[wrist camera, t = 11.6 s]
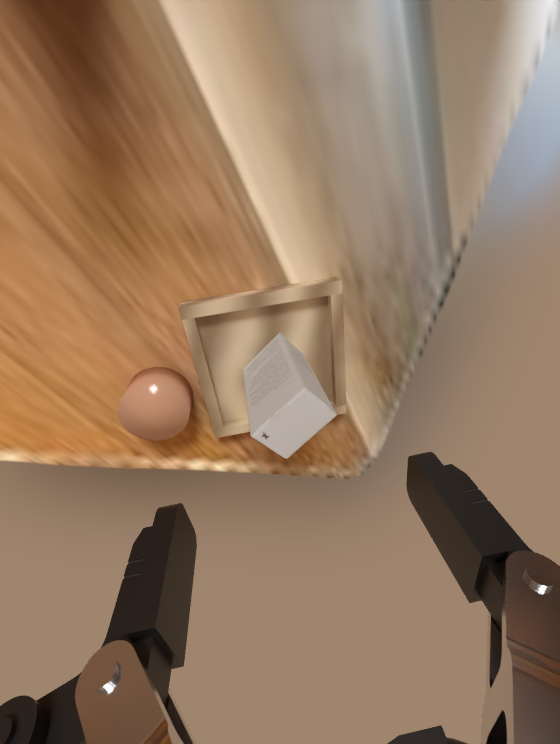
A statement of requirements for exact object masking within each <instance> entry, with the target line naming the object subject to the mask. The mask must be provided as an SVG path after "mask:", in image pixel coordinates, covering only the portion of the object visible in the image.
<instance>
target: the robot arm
mask: <svg viewBox="0 0 560 744" xmlns="http://www.w3.org/2000/svg"><path fill="white" fill-rule="evenodd" d="M407 492H408V495H409V498H410V500H411V503H412V505H413V506H414V508H415V509H416V511H417V513H418V515H419V517H420V518H421V520H422V522H423V524H424V525H425V527H426V529H427V530H428V532H429V534H430V536H431V537H432V538H433V541H434V543H435V544H436V546H437V548H438V549H439V551H440V553H441V554H442V556H443V558H444V560H445V562H446V563H447V565H448V567H449V568H450V570H451V572H452V574H453V575H454V577H455V579H456V580H457V582H458V584H459V585H460V587H461V589H462V591H463V592H464V594H465V596H466V598H467V599H468V601H469V603H472V602H476V601H481V600H482V601H483V603H484V604H485V606H486V608H487V609H488V611H489V614H488V638H487V639H488V640H487V671H486V693H485V701H484V706H483V714H482V727H481V729H482V730H481V744H560V566H559V565H557V564H556V563H555V562H553V561H552V560H550V559H549V558H547V557H545V556H543V555H541V554H538V553H535V552H533V551H532V550H531V549H530V548H528V546H527V545H526V544H525V543H524V542H523V541H522V540H521V538H520V537H519V536H518V535H517V534H516V532H515V531H514V530H513V529H512V528H511V526H510V525H509V524H508V523H507V522H506V520H505V519H504V518H503V517H502V516H501V515H500V513H499V512H498V511H497V510H496V508H495V507H494V506H493V505H492V504H491V503H490V501H488V500H487V498H486V497H485V496H484V494H483V493H482V492H481V491H480V490H478V487H477V486H476V485H475V483H474V482H473V481H472V480H471V479H470V477H469V476H468V475H467V474H466V473H464V472H463V471H461V470H459V469H458V468H457V467H455V466H454V465H452V464H449V465H444V466H443V464H442V463H441V462H440V460H439V459H438V458H437V457H436V455H435V454H434V453H432V452H427V453H422V454H418V455H413V456H409V458H408V471H407ZM196 547H197V543H196V534H195V530H194V528H193V526H192V523H191V521H190V519H189V517H188V515H187V513H186V511H185V508H184V506H183V505H182V504H181V503H179V504H175V505H170V506H165V507H160V508H158V510H157V512H156V515H155V519H154V523H153V526H151V527H146V528H143V530H142V531H141V533H140V535H139V536H138V537H137V539H136V541H135V542H134V544H133V547H132V550H131V553H130V557H129V560H128V565H127V568H126V571H125V574H124V579H123V581H122V584H121V588H120V591H119V594H118V598H117V602H116V605H115V608H114V612H113V615H112V618H111V622H110V626H109V629H108V632H107V636H106V638H105V641H104V643H103V645H102V647H101V649H99V650H98V651H97V652H96V653H95V654H94V655H93V656H92V657H91V659H90V660H89V661H88V663H87V664H86V666H85V667H84V669H83V671H82V672H81V673H80V674H79V675H78V676H76V677H75V678H73V679H72V680H70V681H68V682H67V683H65V684H63V685H62V686H60V687H59V688H57V689H55V690H54V691H52V692H50V693H49V694H47V695H45V696H44V697H42V698H40V699H39V700H37V701H36V700H34V699H33V698H31V697H29V696H18V697H15V698H13V699H11V700H9V701H7V702H6V703H4V704H3V705H1V706H0V744H196V742H195V740H194V738H193V736H192V734H191V732H190V730H189V728H188V726H187V724H186V722H185V720H184V718H183V716H182V714H181V712H180V710H179V708H178V706H177V704H176V702H175V700H174V698H173V696H172V694H171V692H170V690H169V681H170V673H171V669H174V668H178V667H182V666H184V659H185V650H186V641H187V631H188V622H189V613H190V604H191V594H192V585H193V576H194V566H195V557H196ZM388 744H467V743H465V742H462V741H459V740H456V739H452V738H446V736H445V734H444V731H443V728H442V726H437V727H433V728H428V729H424V730H420V731H416V732H412V733H408V734H403V735H399V736H398V737H396V738H395V739H393V740H392V741H391V742H389V743H388Z"/></svg>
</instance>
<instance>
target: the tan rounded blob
mask: <svg viewBox="0 0 560 744" xmlns="http://www.w3.org/2000/svg"><path fill="white" fill-rule="evenodd" d="M192 399H193V392H192V388H191V386H190V384H189V382H188V381H187V379H186V378H185V377H184V376H182V375H181V374H180V373H178V372H176V371H174V370H172V369H168V368H163V367H153V368H148V369H145V370H143V371H141V372H139V373H138V374H136V375H135V376H134V378H133V379H132V380H131V382H130V384H129V386H128V388H127V389H126V391H125V393H124V395H123V397H122V399H121V400H120V403H119V406H118V416H119V419H120V421H121V423H122V425H123V426H124V427H125V428H126V429H127V430H128V431H129V432H130V433H132V434H133V435H135V436H137V437H139V438H142V439H145V440H151V441H162V440H167V439H170V438H173V437H175V436H177V435H178V434H180V433H181V432H182V431H183V430H184V429H185V427H186V426H187V423H188V420H189V416H190V410H191V405H192Z"/></svg>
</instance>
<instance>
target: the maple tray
mask: <svg viewBox="0 0 560 744" xmlns="http://www.w3.org/2000/svg"><path fill="white" fill-rule="evenodd" d="M179 311H180V315H181V318H182V322H183V325H184V329H185V332H186V336H187V339H188V343H189V346H190V350H191V353H192V357H193V360H194V364H195V367H196V371H197V374H198V378H199V381H200V385H201V388H202V392H203V395H204V399H205V402H206V406H207V409H208V413H209V416H210V420H211V423H212V427H213V430H214V434H215V437H216V438H219V437H225V436H230V435H235V434H240V433H246V432H250V427H249V418H248V410H247V401H246V393H245V384H244V376H243V368H244V367H245V366H246V365H247V364H248V363H249V362H250V361H251V360H252V359H253V358H254V357H255V356H256V355H257V354H258V353H259V352H260V351H261V350H262V349H263V348H264V347H265V346H266V345H267V344H268V343H269V342H270V341H271V340H272V339H273V338H274V337H275V336H276V335H277V334H278V333H281V334H282V335H283V336H284V337H285V338H287V339H288V340H289V341H290V342H291V343H292V344H293V345H294V346H295V347H296V348H297V349H298V350H299V351H300V352H302V353H303V354H304V355H305V357H306V359H307V361H308V363H309V365H310V366H311V368H312V370H313V372H314V374H315V376H316V377H317V379H318V381H319V383H320V385H321V387H322V388H323V390H324V392H325V394H326V396H327V397H328V399H329V401H330V403H331V405H332V407H333V408H334V410H335V412H336V415H339V414H344V413H346V387H345V356H344V325H343V294H342V281H341V280H339V279H338V278H337V277H334V278H328V279H322V280H316V281H309V282H303V283H297V284H291V285H285V286H279V287H272V288H266V289H260V290H254V291H248V292H242V293H235V294H229V295H223V296H217V297H211V298H205V299H199V300H192V301H186V302H181V304H180V306H179Z"/></svg>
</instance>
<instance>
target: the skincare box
mask: <svg viewBox="0 0 560 744" xmlns="http://www.w3.org/2000/svg"><path fill="white" fill-rule="evenodd" d="M243 376H244V384H245V393H246V401H247V410H248V418H249V427H250V435H251V437H252V438H254V439H255V440H257V441H259V442H260V443H262V444H263V445H265V446H267V447H268V448H270V449H271V450H272V451H274V452H275V453H277V454H278V455H280V456H282V457H283V458H285V459H288V458H289V457H290V456H291V455H292V454H293V453H294V452H295V451H297V450H298V449H299V448H300V447H301V446H302V445H303V444H305V443H306V442H307V441H308V440H309V439H310V438H311V437H313V436H314V435H315V434H316V433H317V432H318V431H319V430H320V429H322V428H323V427H324V426H325V425H326V424H327V423H328V422H330V421H331V420H332V419H333V418H334V417H336V412H335V410H334V408H333V407H332V405H331V403H330V401H329V399H328V397H327V396H326V394H325V392H324V390H323V388H322V387H321V385H320V383H319V381H318V379H317V377H316V376H315V374H314V372H313V370H312V368H311V366H310V365H309V363H308V361H307V359H306V357H305V355H304V354H303V353H302V352H300V351H299V350H298V349H297V348H296V347H295V346H294V345H293V344H292V343H291V342H290V341H289V340H288V339H287V338H285V337H284V336H283V335H282V334H281V333H278V334H277V335H276V336H275V337H274V338H273V339H272V340H271V341H270V342H269V343H268V344H267V345H266V346H265V347H264V348H263V349H262V350H261V351H260V352H259V353H258V354H257V355H256V356H255V357H254V358H253V359H252V360H251V361H250V362H249V363H248V364H247V365H246V366H245V367H244V368H243Z"/></svg>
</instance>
